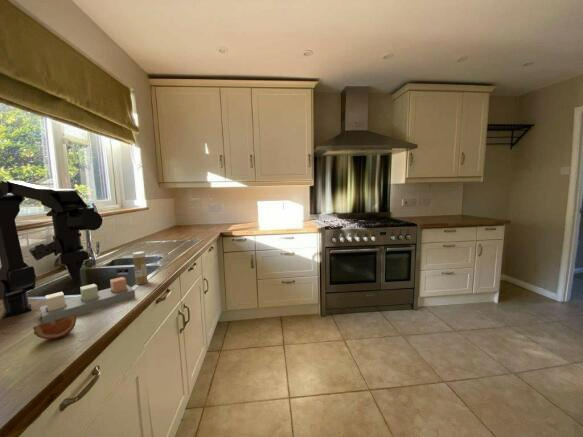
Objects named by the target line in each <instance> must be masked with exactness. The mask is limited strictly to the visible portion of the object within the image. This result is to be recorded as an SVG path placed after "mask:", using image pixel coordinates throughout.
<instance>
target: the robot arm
mask: <svg viewBox="0 0 583 437" xmlns="http://www.w3.org/2000/svg"><path fill="white" fill-rule="evenodd" d="M26 199H31V200H35V201H39V202H40V204H41V205H42V206H43V207H47V208H49V209H50V210H49V211H48V212H47V213H46V215H45V216H46V217H51V220H52V225H53V226H52V227H53V233H54V234H53V235H52V239H51V240H48V241H45V242H43V243H42V242H41V243H39V244H38V245H37V244H36V245H35V246H33V247H30V248H29V249H28V252H29V253H30V255H31V256H32V257H33V259H34V260H35V261H39V260H42V259H43V258H45V257H47V256H49V255H52V254H53V256H54V257H56V256H58V258H56V260H57V262H59V263H60V265H64V266H65V268H66V270H67V272H68V275H69V278H70V279H71V281H76V280H77V279H78V276H79V274H80V272H81V269H82V267H83V264H84V261H88V260H90V253H89V252H88V251H86V250H85V249H84V246H83V245H82V241H81V238H82V233H81V232H80V231H96V230H99V229H100V228H101V227H102V224H103V217H102V216H101V215H100V213H99V212H97V211H95V208H94V206H93V207H90V206H88V204H86V202H85V201H84V200H83V198H82V197H81V196H80V195H79V193H78V191H77V190H76V189H74V188H50V187H45V186H42V185H37V184H33V183H28V182H26V181H23V180H3V181H0V264H1V266H0V300H1V301H2V307H3V310H2V318H8V317H12V316H14V315H19V314H22V313H26V312H30V311H32V309H33V308H32V304H31V303H30V301H29V297H28V296H29V294H28V292H29V291H32V290H35V288H36V284H37V283H36V282H37V274H36V273H35V272H36V271H35V267H34V266H33V265H31V266H30V265H29V264H27V263H26V262H25V261H24V256H23V252H22V247H21V243H20V238H19V233H18V229H17V225H16V218H17V217H18V215H19V213H20V210H21V207H20V205H21V204H22V203H23V202H25V200H26Z"/></svg>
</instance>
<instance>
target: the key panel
mask: <svg viewBox="0 0 583 437" xmlns="http://www.w3.org/2000/svg"><path fill="white" fill-rule="evenodd" d="M98 296H99V298H96V299H92V300H88V301H85V302H83V301H82V298H81V295H80V296H75V297H71V298H68V299H65V305H66V307H64V308H60V309H56V310H53V311H49V312H48V310H47V304H45V305H42V306H39V311H40V316H41V320H42V324H45V323H50V322H54V321H55V320H57V319H60V318H65V317H67V316H70V315H74V314H75V315H76V317H78V316H80V315H85V314H87V313H90V312H94V311H96V310H97V311H98V310H101V309H105V308H106V307H110V306H114V305H116V304H119V303H123V302H126V301H130V300H133V299H136V292H135V289H134V288H133V287H131V286H130V285H128V284H127V290H124V291H120V292H117V293H112V292H111V287H109V288H105V289H101V290H98Z"/></svg>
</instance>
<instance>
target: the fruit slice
mask: <svg viewBox="0 0 583 437" xmlns="http://www.w3.org/2000/svg"><path fill="white" fill-rule="evenodd" d="M76 323H77V316H76V315H75V314H74V315H70V316H67V317H65V318H60V319H57V320H55V321H54V322H50V323H45V324H43V323H42V324H39V325H34V326H33V327H32V329H33V331H34V332H33V334H34V335H36V337H37V338H39V339H44V340H57V339H61V338H64V337H65V336H68V334H70V333H71V332H72V331H73V330H74V328H75V326H76Z"/></svg>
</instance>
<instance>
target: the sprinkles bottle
mask: <svg viewBox="0 0 583 437" xmlns="http://www.w3.org/2000/svg"><path fill="white" fill-rule="evenodd" d="M132 258H133V270H134V277H135V284H136V285H138V283H139V284H141V285H144V284H147V283H148V268H147V262H146V252H145V251H136V252H133V253H132Z"/></svg>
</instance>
